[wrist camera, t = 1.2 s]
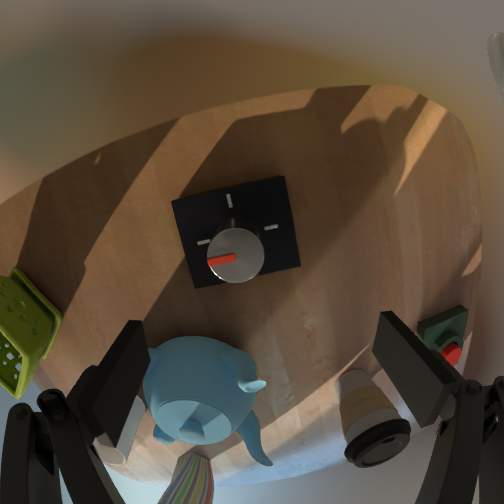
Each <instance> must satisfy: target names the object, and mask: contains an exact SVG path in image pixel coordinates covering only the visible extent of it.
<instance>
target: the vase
mask: <svg viewBox="0 0 504 504" xmlns="http://www.w3.org/2000/svg"><path fill="white" fill-rule="evenodd" d="M210 461H211V460H208V459H206V458H204V457H201V456H199V455H197V454H195V453H193V452H189V453H187V454H186V455H184V456H182V457H180V458H178V461H177V464H176V467H175V470H174V473H173V476H172V480H171V483H170V485H169V486H168V488H167V489H166V491H165V492H164V494H163V495H162V497H161V499H160V500H159V502H158V504H212V502H213V494H214V480H213V474H212V469H211V463H210Z"/></svg>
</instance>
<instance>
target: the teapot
mask: <svg viewBox="0 0 504 504" xmlns="http://www.w3.org/2000/svg"><path fill="white" fill-rule="evenodd" d="M148 351H149V355H150V359H151V362H150V364H149V367H148V369H147V371H146V374H145V376H144V378H143V391H144V396H145V399H146V403H147V405H148V408H149V410H150V412H151V414H152V416H153V418H154V420H155V422H156V426H155V429H154V432H153V436H154V438H155V439H156V440H157V441H158V442H160V443H162V444H170V443H172V442H173V441H175V440H176V439H177V440H179V441H182V442H185V443H189V444H195V445H208V444H213V443H217V442H220V441H222V440H224V439H226V438H227V437H228V436H230V435H231V434H232V433H233V432H234V431H235V430H236V431H238V433H239V434H240V435H241V436H242V438H243V440H244V442H245V444H246V446H247V449H248V451H249V453H250V454H251V456H252V457H253V458H254V459H255V460H256V461H257V462H259V463H260V464H263V465H265V466H272V465H273V463H272V462H271V460H270V459H269V458H268V457H267V456H266V455H265V453H264V451H263V449H262V446H261V439H260V425H259V421H258V418H257V416H256V414H255V413H254V411H253V410H252V407H253V404H254V401H255V397H256V393H257V391H259V390H261V389H262V388H264V387H265V386H266V382H265V381H263V380H257V378H256V364H255V361H254V360H253V358H252V357H251V356H250V355H249V354H248V353H246V352H245V351H243V350H240V349H236V348H233V347H232V346H230V345H228V344H226V343H224V342H222V341H219V340H216V339H212V338H208V337H202V336H183V337H177V338H174V339H171V340H168V341H166V342H164V343H163V344H161V345H160V346H158V347H157V348H148Z"/></svg>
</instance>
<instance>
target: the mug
mask: <svg viewBox="0 0 504 504" xmlns="http://www.w3.org/2000/svg"><path fill="white" fill-rule="evenodd" d="M144 413H145V404H144V402H143V401H142V399H141V398H140V397H139V396H138V395H136V398H135V400H134V403H133V405H132V408H131V410H130V413H129V415H128V418H127V420H126V423H125V425H124V428H123V431H122V433H121V436H120V439H119V441H118V444H117V447H116V449H115V448H111V447H107V446H103V445H100V443H99V442H98V440H97V439H96V437H95V440H94V442H93V445H94V446H95V448H96V450H97V452H98V454H99V456H100V458H101V460H102V461H103V462H105V463H108V464H112V465H124V464H126V462H127V459H128V456H129V453H130V450H131V447H132V444H133V441H134V438H135V435H136V432H137V429H138V426H139V423H140V420H141V418H142V416H143V415H144Z"/></svg>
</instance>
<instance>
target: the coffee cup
mask: <svg viewBox="0 0 504 504" xmlns="http://www.w3.org/2000/svg"><path fill="white" fill-rule="evenodd" d="M334 389H335V393H336V398H337V402H338V406H339V408H338V411H339V415H340V419H341V424H342V428H343V433H344V437H345V440H346V442H347V447H346V449H345V452H344V455H345V457H346V458H347V460H348V461H349V462H351V463H354V465H355V466H357V467H359V468H368V467H373V466H376V465H379V464H382V463H384V462H386V461H388V460H389V459H391V458H393V457H395V456H396V455H397V454H398V453H400V452H401V451H402V450H403V449H404V448H405V447H406V446H407V444H408V443H409V441H410V432H411V427H410V424H409V422H408V421H407V420H405V419H402V418H401V416H400V415H399V414H398V411H397V409H396V408H395V407H394V406H393V404H392V403H391V402H390V400H389V399H388V398H387V397H386V395H385V394H384V393H383V391H382V390H381V389H380V388H379V387H377V385H376V384H375V383H374V382H373V380H372V379H371V378H370V377H369V375H368V374H367V373H366V372H365V371H364V370H360V369H356V370H351V371H348V372H346V373H344V374H342V375H341V376H340V377H339V378H338V379H337V381H336V383H335V386H334Z"/></svg>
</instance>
